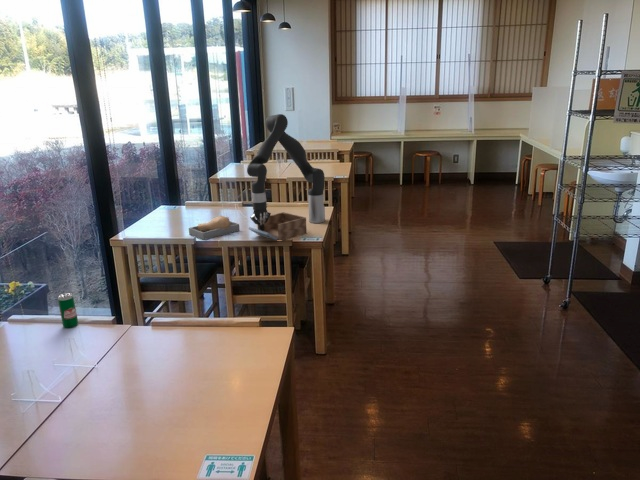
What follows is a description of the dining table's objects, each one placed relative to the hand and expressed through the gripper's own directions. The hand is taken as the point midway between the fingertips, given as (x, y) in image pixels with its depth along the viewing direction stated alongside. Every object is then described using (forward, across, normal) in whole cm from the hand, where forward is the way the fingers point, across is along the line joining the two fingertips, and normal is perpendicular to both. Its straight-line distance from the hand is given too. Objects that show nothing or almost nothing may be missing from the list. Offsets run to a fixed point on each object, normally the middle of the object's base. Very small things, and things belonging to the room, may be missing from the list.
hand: (261, 230), depth 275 cm
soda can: (+3, +112, +31) cm, 116 cm away
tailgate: (+4, -4, 0) cm, 6 cm away
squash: (+4, +10, -33) cm, 35 cm away
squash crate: (+5, +10, -33) cm, 35 cm away
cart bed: (+5, -14, 0) cm, 15 cm away
